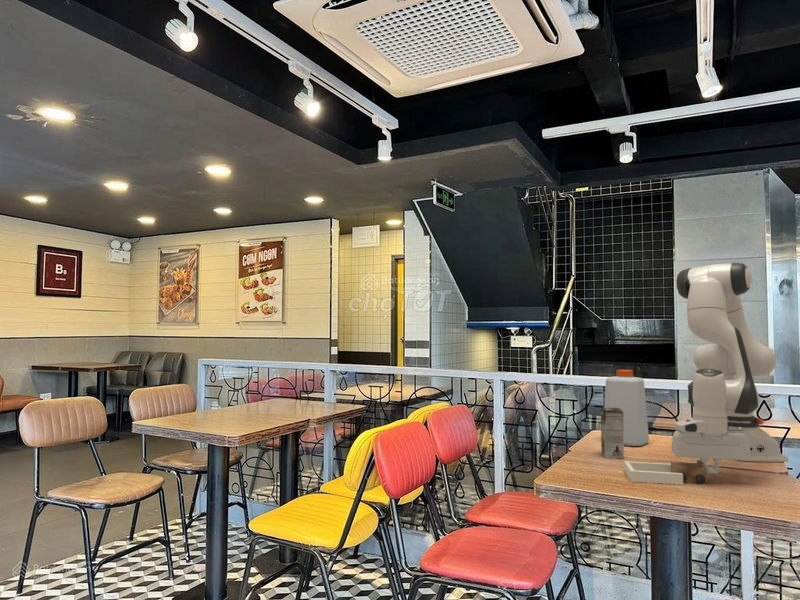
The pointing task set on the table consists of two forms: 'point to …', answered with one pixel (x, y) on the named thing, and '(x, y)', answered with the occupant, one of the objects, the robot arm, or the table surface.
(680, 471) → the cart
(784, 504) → the table surface
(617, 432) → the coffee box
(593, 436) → the table surface
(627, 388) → the plastic bottle
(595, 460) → the table surface
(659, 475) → the bay
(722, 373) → the robot arm
